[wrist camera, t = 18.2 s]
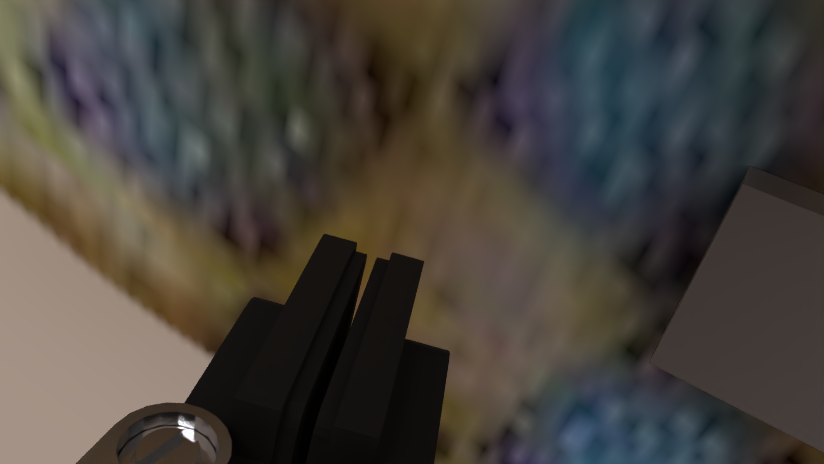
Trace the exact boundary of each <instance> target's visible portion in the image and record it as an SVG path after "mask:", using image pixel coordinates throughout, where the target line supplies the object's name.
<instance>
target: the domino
mask: <svg viewBox="0 0 824 464" xmlns="http://www.w3.org/2000/svg"><path fill="white" fill-rule="evenodd" d="M649 363H650V364H652V365H654V366H656V367H658V368H660V369H662V370H664V371H666V372H668V373H670V374H671V375H673V376H675V377H677V378H679V379H681V380H683V381H685V382H687V383H689V384H691V385H693V386H695V387H697V388H699V389H701V390H703V391H705V392H707V393H708V394H710V395H712V396H714V397H716V398H718V399H720V400H722V401H724V402H726V403H728V404H730V405H732V406H734V407H736V408H738V409H740V410H742V411H743V412H745V413H747V414H749V415H751V416H753V417H755V418H757V419H759V420H761V421H763V422H765V423H767V424H769V425H771V426H773V427H775V428H777V429H779V430H780V431H782V432H784V433H786V434H788V435H790V436H792V437H794V438H796V439H798V440H800V441H802V442H804V443H806V444H808V445H810V446H812V447H814V448H816V449H817V450H819V451H821V452H823V453H824V194H821V193H819V192H816V191H813V190H811V189H808V188H806V187H803V186H801V185H798V184H796V183H793V182H790V181H788V180H785V179H783V178H780V177H778V176H775V175H772V174H770V173H767V172H765V171H762V170H760V169H757V168H754V167H752V166H750V167H749V169H748V171H747V173H746V175H745V177H744V179H743V181H742V183H741V185H740V186H739V188H738V190H737V192H736V194H735V196H734V198H733V200H732V202H731V204H730V206H729V208H728V209H727V211H726V213H725V215H724V217H723V219H722V221H721V223H720V225H719V227H718V229H717V231H716V232H715V234H714V236H713V238H712V240H711V242H710V244H709V246H708V248H707V250H706V252H705V253H704V255H703V257H702V259H701V261H700V263H699V265H698V267H697V269H696V271H695V273H694V275H693V276H692V278H691V280H690V282H689V284H688V286H687V288H686V290H685V292H684V294H683V296H682V298H681V299H680V301H679V303H678V305H677V307H676V309H675V311H674V313H673V315H672V317H671V319H670V320H669V322H668V324H667V326H666V328H665V330H664V332H663V334H662V336H661V338H660V340H659V342H658V345H657V347H656V349H655V351H654V353H653V355H652V357H651V360H650V362H649Z"/></svg>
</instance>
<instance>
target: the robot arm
mask: <svg viewBox="0 0 824 464" xmlns="http://www.w3.org/2000/svg"><path fill="white" fill-rule="evenodd" d="M356 247H357V242H353V241H349V240H346V239H342V238H338V237H335V236H331V235H328V234H324V235H323V236H322V238H321V240H320V241H319V243H318V245H317V247H316V249H315V251H314V252H313V254H312V256H311V258H310V260H309V262H308V263H307V265H306V267H305V269H304V271H303V272H302V274H301V276H300V278H299V280H298V282H297V283H296V285H295V287H294V289H293V291H292V293H291V294H290V296H289V298H288V300H287V302H286V304H285V305H282V304H278V303H275V302H271V301H267V300H264V299H260V298H257V297H254V298H252V299H251V300H250V301H249V303H248V304H247V306H246V307H245V309H244V310H243V312H242V313H241V315H240V317H239V318H238V320H237V321H236V323H235V324H234V326H233V328H232V329H231V331H230V332H229V334H228V335H227V337H226V339H225V340H224V342H223V343H222V345H221V346H220V348H219V350H218V351H217V353H216V354H215V356H214V357H213V359H212V361H211V362H210V364H209V365H208V367H207V369H206V370H205V372H204V373H203V375H202V377H201V378H200V379H199V381H198V383H197V384H196V386H195V387H194V389H193V390H192V392H191V394H190V395H189V397H188V398H187V400H186V401H185V403H161V404H156V405H150V406H146V407H144V408H141V409H139V410H136V411H134V412H132V413H129V414H128V415H127V416H126V417H124V418H123V419H122V420H120V421H119V422H118V423H116V424H115V425H114V426H113V427H112V428H111V429H110V430H109V431H108V432H107V433H106V434H105V435H104V436H103V437H102V438H101V439H100V440H99V441H98V442H97V443H96V444H95V445H94V446H93V447H92V448H91V449H90V450H89V451H88V452H87V453H86V454H85V455H84V456H83V457H82V458H81V459H80V460H79V461H78V462H77V463H76V464H434V459H435V452H436V445H437V438H438V431H439V425H440V418H441V411H442V404H443V398H444V391H445V384H446V377H447V371H448V364H449V356H450V352H449V351H448V350H444V349H440V348H437V347H433V346H430V345H426V344H422V343H419V342H415V341H412V340H408V339H405V336H406V332H407V328H408V324H409V320H410V316H411V312H412V308H413V304H414V300H415V296H416V292H417V288H418V284H419V280H420V276H421V272H422V268H423V264H424V261H422V260H418V259H415V258H411V257H407V256H404V255H400V254H396V253H393V252H392V254H391V257H390V260H385V259H381V258H378V257H377V259H376V261H375V264H374V267H373V269H372V272H371V275H370V277H369V280H368V283H367V285H366V288H365V291H364V293H363V296H362V299H361V301H360V304H359V306H358V309H357V312H356V314H355V317H354V320H353V322H352V319H353V315H354V310H355V306H356V302H357V298H358V293H359V289H360V285H361V281H362V276H363V272H364V268H365V264H366V259H367V254H363V253H360V252H356ZM351 323H352V325H351ZM350 327H351V328H350Z"/></svg>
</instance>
